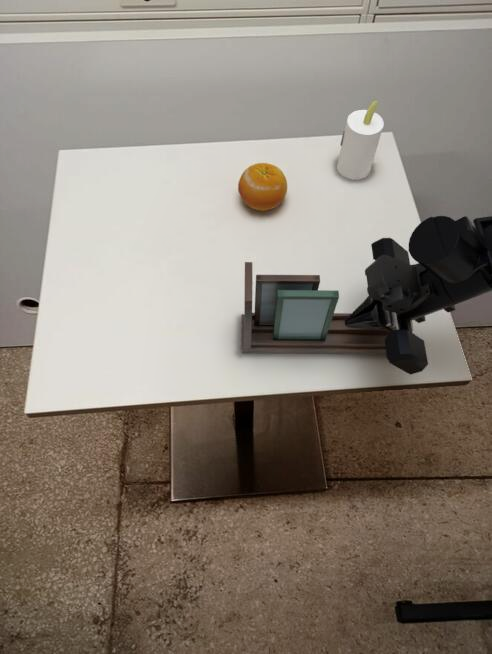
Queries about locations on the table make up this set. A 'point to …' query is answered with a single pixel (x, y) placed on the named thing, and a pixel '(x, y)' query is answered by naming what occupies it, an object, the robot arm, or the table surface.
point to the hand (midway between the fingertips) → (346, 324)
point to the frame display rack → (261, 341)
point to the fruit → (262, 186)
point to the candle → (359, 143)
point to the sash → (303, 314)
